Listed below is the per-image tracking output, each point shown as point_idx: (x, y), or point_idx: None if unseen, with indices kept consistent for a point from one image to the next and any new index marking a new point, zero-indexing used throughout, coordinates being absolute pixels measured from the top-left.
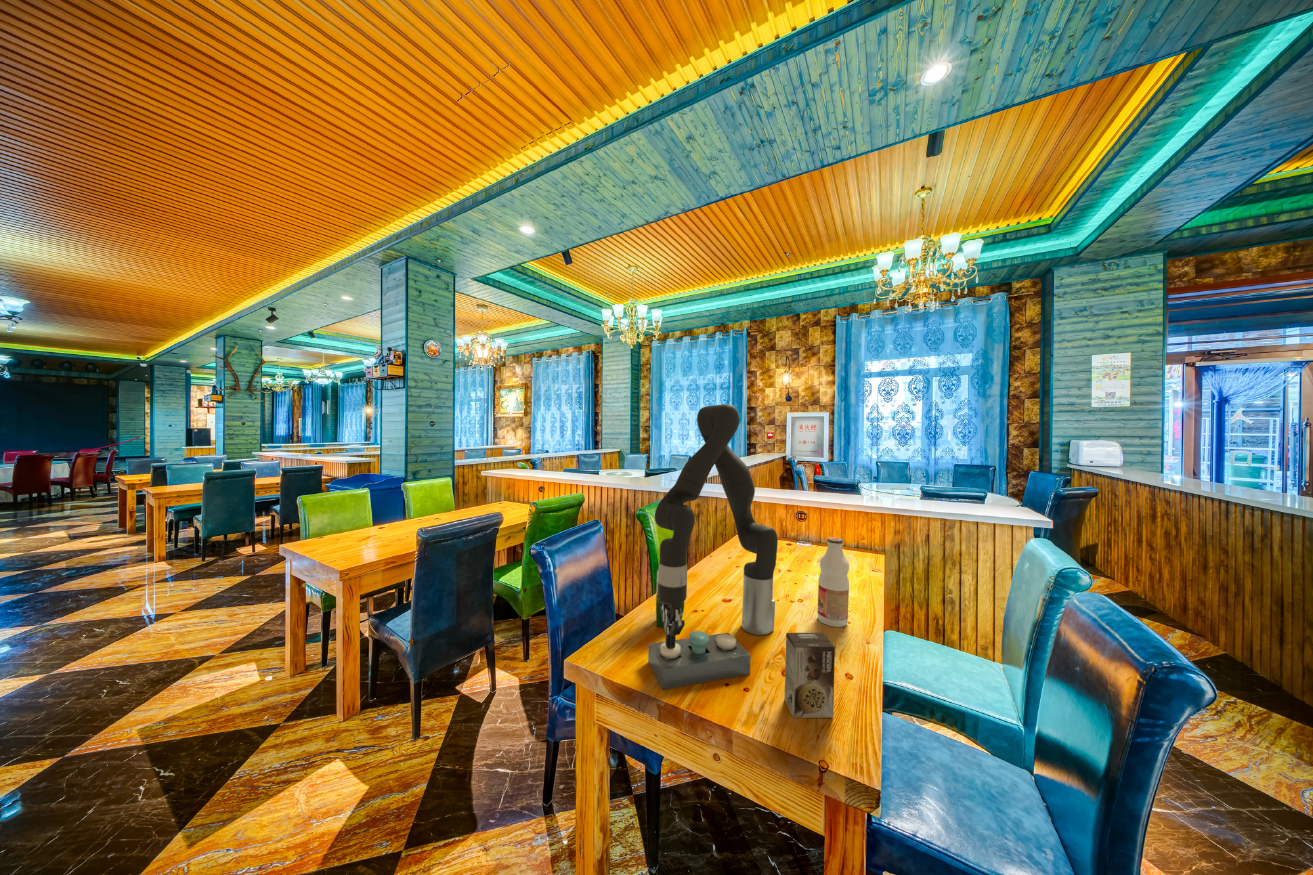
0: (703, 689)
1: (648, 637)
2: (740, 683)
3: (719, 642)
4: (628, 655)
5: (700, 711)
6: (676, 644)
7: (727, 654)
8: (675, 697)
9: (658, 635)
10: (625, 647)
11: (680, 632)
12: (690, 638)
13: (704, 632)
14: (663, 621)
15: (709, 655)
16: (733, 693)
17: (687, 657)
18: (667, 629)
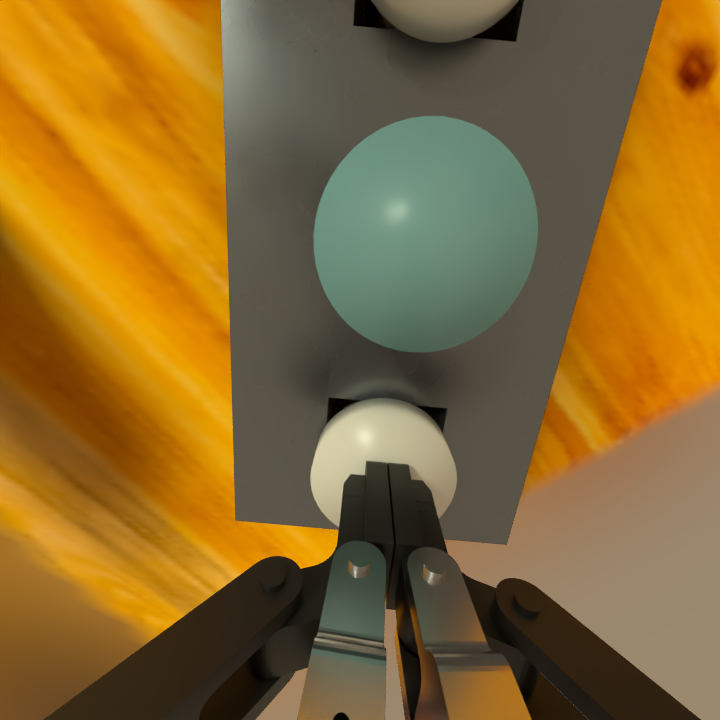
0: None
1: (40, 373)
2: None
3: (483, 5)
4: (194, 508)
5: (667, 396)
6: (367, 431)
7: (589, 23)
8: (539, 447)
9: (20, 312)
10: (126, 500)
11: (591, 631)
12: (418, 349)
13: (375, 132)
14: (273, 696)
15: None
16: (673, 175)
17: (466, 376)
18: (419, 675)
